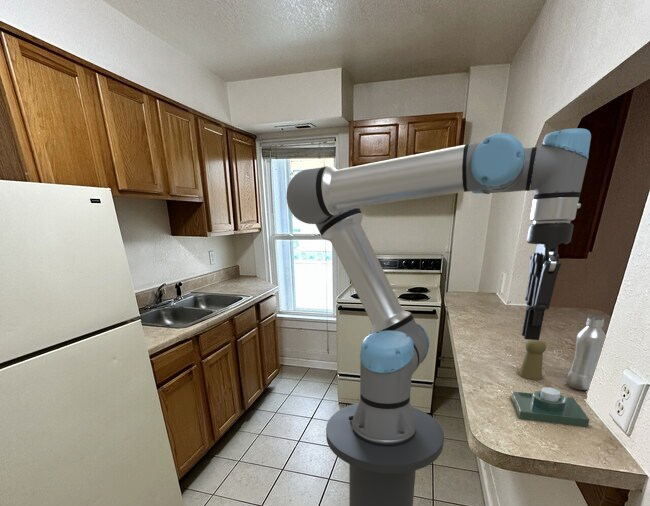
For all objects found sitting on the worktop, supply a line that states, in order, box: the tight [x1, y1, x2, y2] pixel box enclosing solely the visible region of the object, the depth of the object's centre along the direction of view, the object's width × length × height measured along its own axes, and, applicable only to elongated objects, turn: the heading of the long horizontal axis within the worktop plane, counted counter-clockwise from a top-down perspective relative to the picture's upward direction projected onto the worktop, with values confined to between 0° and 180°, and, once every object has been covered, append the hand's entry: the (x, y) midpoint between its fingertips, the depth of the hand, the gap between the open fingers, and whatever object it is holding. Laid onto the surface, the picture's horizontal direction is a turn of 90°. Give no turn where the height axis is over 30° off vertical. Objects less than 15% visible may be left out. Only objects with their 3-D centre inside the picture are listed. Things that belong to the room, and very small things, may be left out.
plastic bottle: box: [566, 316, 607, 391], centre depth 95 cm, size 6×7×20 cm
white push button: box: [540, 386, 562, 402], centre depth 85 cm, size 4×4×2 cm
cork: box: [518, 340, 547, 381], centre depth 105 cm, size 6×6×11 cm
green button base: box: [511, 390, 590, 428], centre depth 86 cm, size 14×11×4 cm
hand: (530, 337), depth 77 cm, fingers closed
